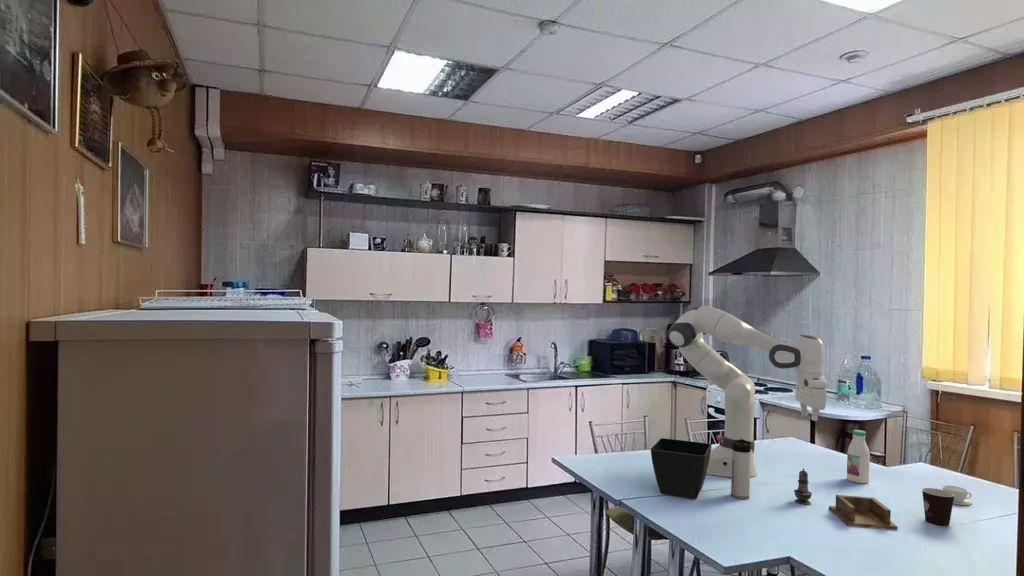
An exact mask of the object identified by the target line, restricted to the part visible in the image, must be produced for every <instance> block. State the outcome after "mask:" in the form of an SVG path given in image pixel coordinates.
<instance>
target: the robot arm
mask: <svg viewBox="0 0 1024 576" xmlns="http://www.w3.org/2000/svg"><path fill="white" fill-rule="evenodd" d="M704 335H709V336H711V337H713V338H715V339H717V340H719V341H722V342H724V343H728V344H738V345H741V344H742V345H748V346H752V347H755V348H757V349H759V350H761V351H763V352H766V353H768V358H769V362H770V363H771V365H773V366H774V367H775V368H777V369H782V370H787V369H792V368H793V369H795V370H796V382H795V383H796V384H795V385H796V386H795V400H796V402H799V403H800V404H799V406H800V410H801V415H802V416H805V417H807V416H808V415H809V411H808V407H809V408H811V411H812V413H811V414H810V419H811V420H812V421H814V422H817V421H818V417H819V414H820V411H824V410H825V409H826V406H827V389H828V387H829V382H828V381H827V380H826V378H825V376H824V368H823V365H824V361H825V360H824V358H825V357H824V356H825V355H824V345H823V341H822V340H821V339H820V338H819V337H817V336H813V335H807V334H800V335H798V336H797V337H795V338H793V339H791V340H781V339H779V338H775V337H773V336H771V335H769V334H766V333H764V332H763V331H760V330H758V329H756V328H754V327H752V326H751V325H749V323H746V322H744V321H743V320H741V319H739V318H738V317H736V316H734V315H733V314H731V313H729V312H727V311H724V310H722V309H719V308H716V307H713V306H709V305H702V306H696V307H693V308H690V309H688V310H687V311H685V313H683V314H682V315H681V316H679V317H678V319H677V320H676V321H675V322H674V323H673V324H672V325H671V326H670V327H669V329H668V331H667V338H668V340H669V341H670V343H671V344H672V345H673V346H675V347H677V348H678V350H679V352H680V354H681V355H682V356H683V357H684V359H685V360H686V361H687V362H688V364H690V365H691V366H692V367H693V368H694V369H695V370H696V371H697V372H698V373H700V374H701V375H702V376H703V377H704V378H706V380H708V381H709V382H710V383H712V384H713V385H715V386H716V387H718V388H719V389H720V390H722V391H723V392H724V435H723V436H722V435H719V434H718V435H716V440H717V441H719V442H718V443H719V444H718V445H717V446H715V447H713V448H711V453H710V459H709V464H708V469H707V473H706V475H709V476H710V475H711V476H717V477H726V478H731V476H732V448H733V441H734V440H740V439H744V440H745V441H748V442H750V443H751V462H750V478H753V477H755V476H757V471H756V466H755V458H754V453H755V439H754V428H755V426H754V424H755V423H754V421H755V419H754V417H755V414H754V412H755V411H754V410H755V409H754V406H755V405H754V400H755V399H754V398H755V394H756V385H755V383H754V381H753V380H752V379H751V378H750V377H749V376H747V375H746V374H745V373H743V372H742V370H740V369H738V367H736V366H734V365H733V364H732V363H730V362H729V361H728V360H727V359H725V358H724V357H723V356H722V355H720V354H719V353H718V352H717V351H716V350H715V349H714V348H712V347H711V346H710V345H709V344H708V343H706V341H705V340H704V338H703V337H704Z"/></svg>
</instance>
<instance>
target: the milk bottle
mask: <svg viewBox="0 0 1024 576" xmlns="http://www.w3.org/2000/svg"><path fill="white" fill-rule="evenodd" d="M866 436H867V432H866V431H865V430H861V429H854V430H853V429H852V440H851V442H850V444H849V446H848V447H847V457H846V459H847V461H846V479H847V480H848V481H849V482H852V483H857V484H869V482H870V459H871V457H870V456H871V455H870V450H869V447H868V445H867V442H866Z"/></svg>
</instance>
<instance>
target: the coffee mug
mask: <svg viewBox="0 0 1024 576" xmlns="http://www.w3.org/2000/svg"><path fill="white" fill-rule="evenodd" d="M921 491H922V492H921V493H922V499H923V501H922V502H923V509H924V518H925V519H924V521H925V522H927V523H928V524H930V525H932V526H935V527H936V526H937V527H946V528H947V527H949V526H950V523H951V517H952V511H953V505H954V503H953V501H954V494H953V493H951V492H948V491H945V490H943V489H940V488H934V487H924V488H922V489H921Z"/></svg>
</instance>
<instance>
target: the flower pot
mask: <svg viewBox="0 0 1024 576" xmlns="http://www.w3.org/2000/svg"><path fill="white" fill-rule="evenodd" d="M712 447H713V446H712V444H711V443H706V442H701V441H700V442H698V441H691V440H681V439H671V438H664V437H661V438H659V439H658V441H657V442H656V443H655V444H653V446H652V447H651V448H650V454H651V455H650V456H651V457H650V458H651V462H652V467H653V473H654V476H655V479H656V483H657V486H658V490H659V493H660V494H661V495H667V496H673V497H678V498H679V497H680V498H686V499H692V500H697V499H698V497H699V495H700V492H701V491H702V488H703V485H704V483H705V479H706V476H707V474H706V473H707V469H708V464H709V459H710V453H711V450H712Z"/></svg>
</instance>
